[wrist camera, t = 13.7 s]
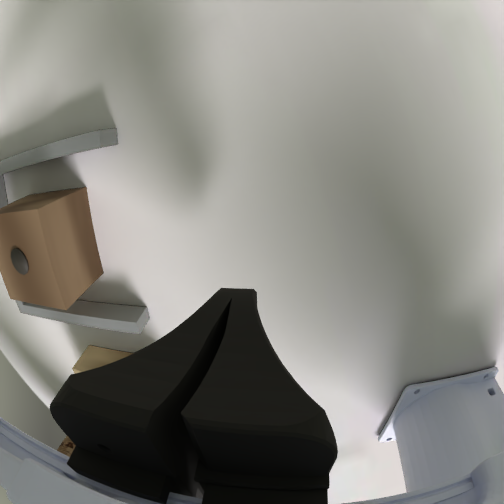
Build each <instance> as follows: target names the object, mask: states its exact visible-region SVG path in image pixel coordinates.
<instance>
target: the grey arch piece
mask: <svg viewBox="0 0 504 504" xmlns="http://www.w3.org/2000/svg"><path fill="white" fill-rule="evenodd" d="M117 144H118V141H117V129H116V128H113V129H104V130H97V131H93V132H89V133H85V134H81V135H77V136H73V137H70V138H66V139H63V140H59V141H56V142H53V143H49V144H46V145H43V146H40V147H37V148H34V149H31V150H28V151H25V152H22V153H20V154H17V155H14V156H12V157H9V158H6V159H4V160H1V161H0V208H2V207H4V206H6V205H8V201H7V196H6V191H5V185H4V179H3V174H4V173H7V172H10V171H13V170H16V169H19V168H22V167H25V166H29V165H32V164H36V163H39V162H43V161H46V160H50V159H54V158H58V157H62V156H66V155H70V154H74V153H79V152H83V151H88V150H92V149H97V148H102V147H107V146H112V145H117ZM16 303H17V305H18V308H19V310H20V312H21V313H24V314H28V315H32V316H37V317H41V318H46V319H51V320H56V321H61V322H66V323H71V324H76V325H82V326H88V327H94V328H100V329H106V330H113V331H120V332H127V333H135V334H140V333H141V332H142V330H143V329H144V327H145V325H146V324H147V322H148V320H149V319H150V317H149V314H148V310H147V307H140V306H129V305H118V304H108V303H99V302H90V301H81V300H76V301H75V302H74V303H73V304H72V305H71V306H70V307H69V308H68V309H67V310H62V309H57V308H52V307H47V306H41V305H37V304H32V303H27V302H22V301H18V300H16Z"/></svg>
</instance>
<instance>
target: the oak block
mask: <svg viewBox="0 0 504 504" xmlns="http://www.w3.org/2000/svg"><path fill="white" fill-rule="evenodd" d="M131 354H133V353H129V352H123V351H117V350H111V349H106V348H101V347H96V346H91V345H89V346H88V347H87V349H86V350H85V351H84V353H83V354H82V355H81V357H80V358H79V360H78V361H77V363H76V364H75V365H74V367H73V368H72V369H73V371H74V373H75V374H76V373H80V372H83V371H87V370H91V369H94V368H98V367H101V366H104V365H107V364H109V363H112V362H115V361H117V360H120V359H122V358H125V357H127V356H129V355H131Z"/></svg>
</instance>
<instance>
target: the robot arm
mask: <svg viewBox="0 0 504 504" xmlns="http://www.w3.org/2000/svg"><path fill="white" fill-rule="evenodd" d="M497 373H498V369H497V367H493V368H489V369H486V370H482V371H478V372H474V373H470V374H466V375H461V376H457V377H452V378H447V379H442V380H437V381H431V382H426V383H420V384H413V385H409V386H407V387H406V388H405V389H404V391H403V393H402V395H401V397H400V399H399V401H398V403H397V405H396V407H395V409H394V411H393V412H392V414H391V416H390V418H389V420H388V422H387V423H386V425H385V427H384V429H383V430H382V432H381V434H380V436H379V437H378V441H379V442H388V441H394V440H396V441H397V446H398V450H399V455H400V459H401V464H402V469H403V474H404V480H405V485H406V491H407V493H403V494H399V495H394V496H389V497H384V498H379V499H373V500H366V501H359V502H352V503H343V504H504V394H503V392H502V390H501V388H500V387H499V385H498V383H497V381H496V380H495V376H496V375H497ZM50 411H51V414H52V416H53V418H54V419H55V421H56V423H57V424H58V425H59V426H60V428H61V429H62V430H63V431H64V432H65V434H66V435H67V436H68V437H69V438H70V439H71V441H72V442H73V443H74V444H75V445H76V446H75V448H74V450H73V452H72V454H71V456H70V457H69V456H67V455H65V454H62V453H60V452H58V451H56V450H54V449H53V448H51V447H49V446H47V445H45V444H43V443H41V442H40V441H38V440H36V439H34V438H33V437H31V436H29V435H28V434H26V433H24V432H23V431H21V430H19V429H18V428H16V427H15V426H13V425H11V424H10V423H9V422H7V421H6V420H4V419H3V418H1V417H0V485H1V486H2V487H3V488H4V489H5V490H7V496H8V499H9V500H10V501H11V502H12V503H13V504H127V503H128V504H328V497H327V489H328V488H329V472H330V470H331V468H332V466H333V464H334V462H335V460H336V458H337V453H338V450H337V444H336V439H335V436H334V432H333V430H332V427H331V424H330V422H329V420H328V417H327V415H326V413H325V410H324V409H323V408H322V407H320V406H319V405H318V404H317V403H316V402H315V401H314V400H313V399H312V398H311V397H310V396H309V395H308V394H307V393H306V392H305V391H304V390H303V389H302V388H301V387H300V386H299V384H298V383H297V382H296V381H295V380H294V378H293V377H292V376H291V374H290V373H289V372H288V370H287V369H286V368H285V367H284V365H283V364H282V362H281V361H280V359H279V357H278V356H277V354H276V353H275V351H274V349H273V347H272V345H271V343H270V341H269V339H268V337H267V335H266V333H265V330H264V328H263V325H262V323H261V320H260V316H259V313H258V309H257V292H256V291H255V290H254V289H233V288H221V289H220V290H218V291H217V292H216V293H215V294H214V295H213V296H212V297H211V298H210V299H209V300H208V301H207V302H206V303H205V304H204V305H203V306H201V307H200V308H199V309H198V310H197V311H196V312H195V313H194V314H193V315H191V316H190V317H189V318H188V319H187V320H185V321H184V322H183V323H182V324H180V325H179V326H178V327H177V328H175V329H174V330H173V331H171V332H170V333H168V334H167V335H165V336H164V337H162V338H161V339H159V340H157V341H156V342H154V343H152V344H151V345H149V346H147V347H145V348H143V349H141V350H139V351H137V352H135V353H133V354H131V355H129V356H127V357H125V358H122V359H120V360H117V361H115V362H112V363H109V364H107V365H104V366H101V367H98V368H94V369H91V370H87V371H83V372H80V373H76V374H71V375H70V376H69V378H68V379H67V381H66V382H65V383H64V385H63V386H62V388H61V389H60V391H59V392H58V394H57V395H56V397H55V398H54V400H53V401H52V403H51V404H50ZM89 488H90V489H89ZM91 489H92V490H91ZM98 492H99V493H98ZM103 494H104V495H103ZM108 496H109V497H108ZM113 498H114V499H113ZM121 501H122V502H121ZM124 502H125V503H124Z"/></svg>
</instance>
